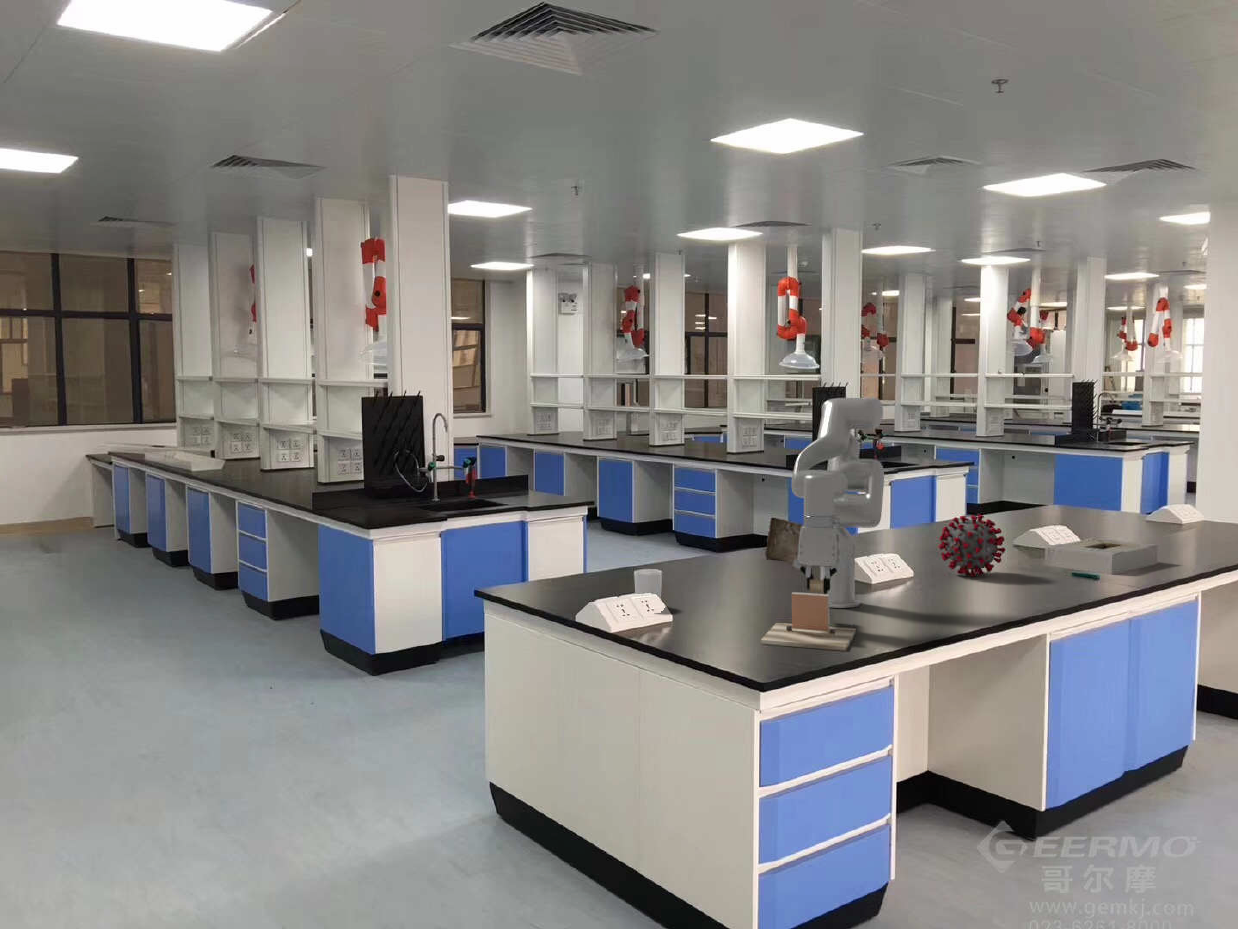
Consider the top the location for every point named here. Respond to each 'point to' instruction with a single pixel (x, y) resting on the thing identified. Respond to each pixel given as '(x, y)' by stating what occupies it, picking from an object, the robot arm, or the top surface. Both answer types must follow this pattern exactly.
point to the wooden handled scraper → (816, 587)
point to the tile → (810, 611)
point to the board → (809, 637)
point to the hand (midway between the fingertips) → (818, 591)
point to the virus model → (971, 545)
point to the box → (1101, 555)
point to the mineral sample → (783, 540)
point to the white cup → (648, 581)
